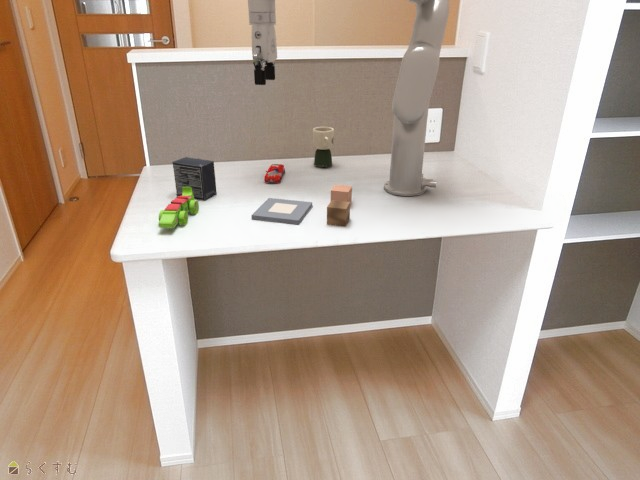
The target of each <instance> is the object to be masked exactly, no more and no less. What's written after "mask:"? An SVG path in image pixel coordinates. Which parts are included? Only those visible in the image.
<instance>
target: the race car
mask: <svg viewBox="0 0 640 480" xmlns="http://www.w3.org/2000/svg"><path fill="white" fill-rule="evenodd" d="M265 172H266V173H265V175H264V177H263V178H264V179H263V180H264V183H267V184H281V182H282V180H283V177H284V176H285V174H286V168H285V165H284V164H282V163H274V164H271V165H269V167H268V169H267V170H265Z"/></svg>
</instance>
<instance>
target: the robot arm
mask: <svg viewBox="0 0 640 480" xmlns="http://www.w3.org/2000/svg"><path fill="white" fill-rule="evenodd" d="M406 1H407V2H409V3H412V4H415V11H416V12H415V18H414V21H413V22H414V23H413V25H412V32H411V36H410V38H409V39H410V40H409V43H408V47H407V49H406V51H405V52H404V54H403V57H402V59H401V63H400V68H399V72H398V75H397V76H398V77H397V81H396V86H395V89H394V92H393V98H392V103H391V108H392V113H393V123H392V141H391V152H390V153H391V154H390V156H391V157H390V166H389V167H390V169H389V171H390V172H389V180H388V181H386V182H384V185H383V189H384V190H385V192H387V193H388V194H391V195H395V196H398V197H399V196H400V197H401V196H402V197H416V196H419V195H423V194H424V193H425V192H426V189H427V187H429V188H433V189H436V188H437V187H436V186H437V181H436V180H434V179H433V178H426V177H424V173H423V167H424V166H423V165H424V156H425V155H424V154H425V145H426V144H425V143H426V136H427V126H428V125H427V124H428V118H429V117H428V115H429V107H430V101H431V97H432V94H433V90H434V86H435V82H436V79H437V75H438V71H439V67H440V58H441V57H440V55H441V51H442V50H441V49H442V46H443V43H444V42H443V41H444V38H445V33H446V28H447V23H448V19H449V13H450V0H406ZM247 7H248V8H247V9H248V25H250V26H251V55H252V60H253V63H252V64H253V77H254V85H255V86H266V83H267V81H274V80H276V68H275V67H276V66H275V61H276V60H277V59H278V49H277V37H276V28H275V26H276V25H277V22H276V21H277V19H276V18H277V16H276V15H277V14H276V0H247Z"/></svg>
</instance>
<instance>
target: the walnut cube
mask: <svg viewBox="0 0 640 480" xmlns="http://www.w3.org/2000/svg"><path fill="white" fill-rule="evenodd" d="M350 219H351V204H350V202H345V201H335V200H331V199H330V202H329V203H328V205H327V206H326V225H328V226H334V227H335V226H336V227H343V228H344V227H345V228H346V227H347V226H348V223H349V221H350Z"/></svg>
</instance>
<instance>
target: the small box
mask: <svg viewBox="0 0 640 480" xmlns="http://www.w3.org/2000/svg"><path fill="white" fill-rule="evenodd" d="M214 162H215V161H214V160H208V159H201V158H196V157H195V158H193V157H189V156H188V157H186V156H185V157H181V158H180V159H176V160H174V161H172V168H173V174H174V175H173V176H174V181H175V182H174V183H175V190H176V197H178V196H182V189H183V187H191V188H192V191H193V195H194V200H197V201H203V202H205V201H207V200H209V199H211V198H213V197H214V196H216V195H217V193H218V192H217V183H216V172H215V164H214Z"/></svg>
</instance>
